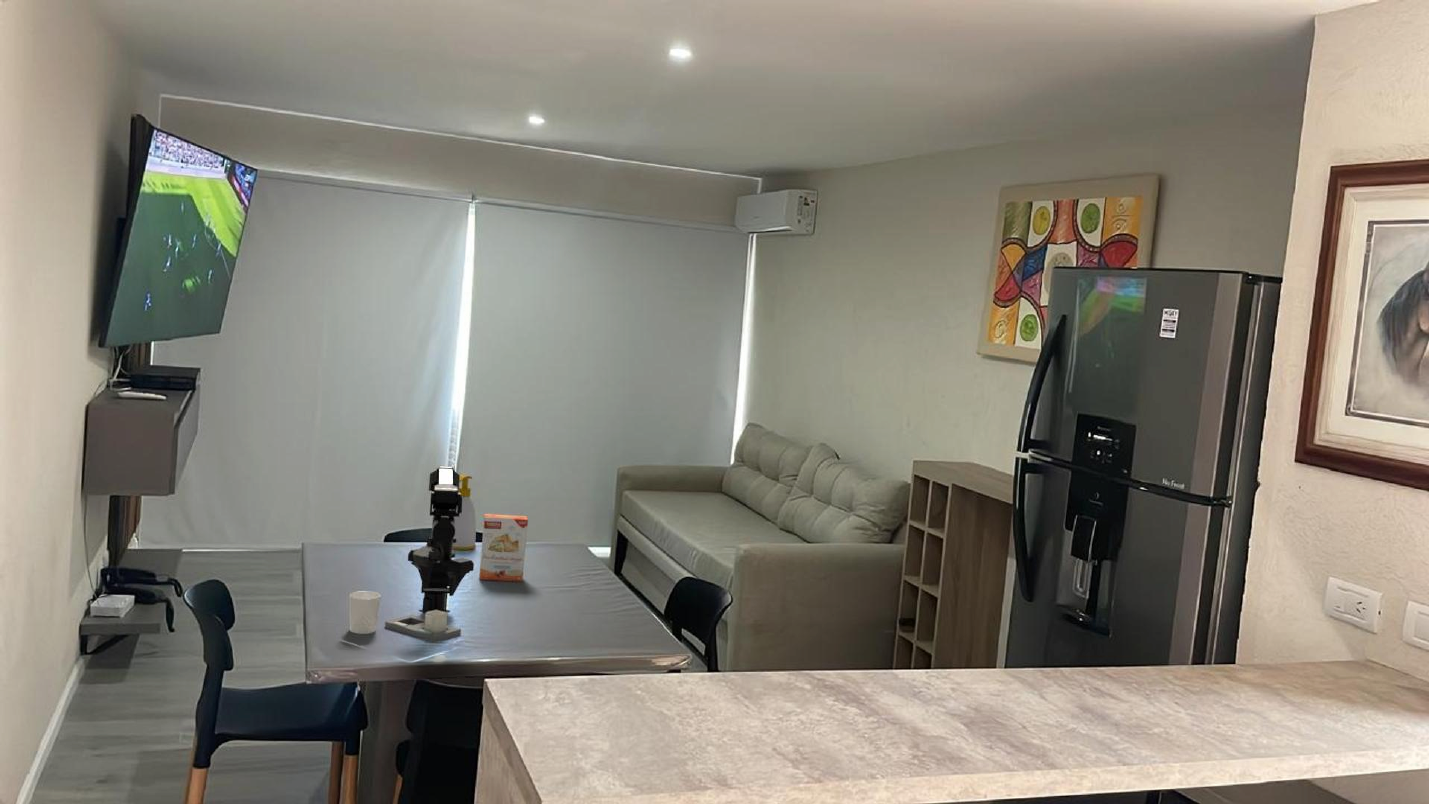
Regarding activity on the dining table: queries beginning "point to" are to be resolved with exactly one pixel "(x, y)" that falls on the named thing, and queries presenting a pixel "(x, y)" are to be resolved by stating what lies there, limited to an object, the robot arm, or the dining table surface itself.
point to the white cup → (364, 611)
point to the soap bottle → (465, 519)
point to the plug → (435, 621)
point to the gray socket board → (420, 628)
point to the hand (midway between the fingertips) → (438, 592)
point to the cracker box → (503, 547)
